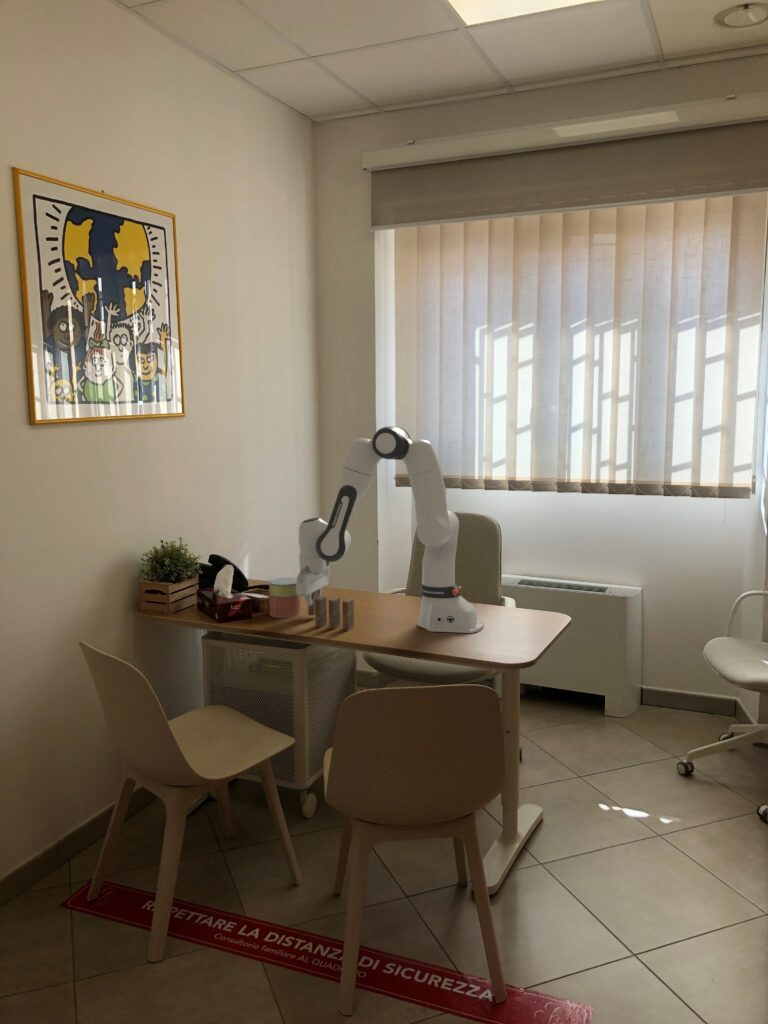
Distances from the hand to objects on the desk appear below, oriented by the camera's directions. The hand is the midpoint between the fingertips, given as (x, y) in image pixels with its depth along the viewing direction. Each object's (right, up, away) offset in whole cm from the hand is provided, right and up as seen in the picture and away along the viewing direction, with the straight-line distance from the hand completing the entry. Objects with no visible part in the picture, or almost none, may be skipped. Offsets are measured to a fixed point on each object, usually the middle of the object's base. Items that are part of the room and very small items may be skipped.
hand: (313, 603), depth 301 cm
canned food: (-11, -5, +8) cm, 14 cm away
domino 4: (+13, -7, -12) cm, 19 cm away
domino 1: (0, -4, 0) cm, 4 cm away
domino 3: (+8, -7, -11) cm, 15 cm away
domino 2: (+3, -7, -9) cm, 12 cm away
